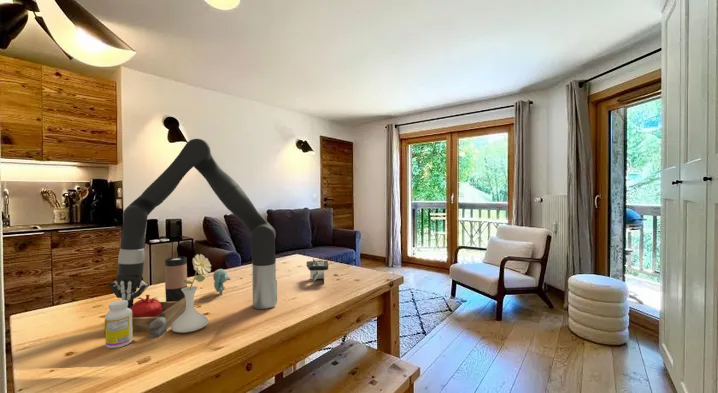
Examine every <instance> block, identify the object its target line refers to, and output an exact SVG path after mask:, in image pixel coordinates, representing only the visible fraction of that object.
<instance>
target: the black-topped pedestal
mask: <svg viewBox="0 0 718 393" xmlns="http://www.w3.org/2000/svg"><path fill="white" fill-rule="evenodd" d="M306 267H307V269H308V270H309V271H310V274H309V275H310V280H312V281H313V282H314V281H316V280H319V279H320V280H321V279H323V280H325V271H328V270H329V261H328V260H325V259H323V258H322V260H316V259H315V256H314V255H313V256H312V260H311V261H310V260H309V261H306Z"/></svg>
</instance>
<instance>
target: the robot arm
mask: <svg viewBox="0 0 718 393" xmlns="http://www.w3.org/2000/svg"><path fill="white" fill-rule="evenodd" d="M193 168H195V169H196V171H197V172H198V173H199V174H200V175H201V176H202V177H203V178H204V179H205V180H206V182H207V183H208V185H209V187H210V188H211V189H212V191H213V192H214V194H215V195H216V197H217V198H218V199H219V200H220V201H221V203H222V204H223V205H224V207H225V208H226V209H227V210H228V211H229V212H230V213H231V214H233V215H234V216H235V217H237V218H238V219H239V220H241V222H242V223H243V224H244V225H245V227H247V229H248V231H249V232H250V233H251V236H250V247H251V248H250V252H251V253H250V254H251V255H250V256H251V262H252V263H251V265H252V266H251V267H252V268H251V269H252V270H251V271H252V272H251V273H252V279H251V280H252V307H253V308H255V309H257V310H258V309H260V310H264V309H270V308H275V307H276V305H277V303H278V280H277V279H276V278H277V277H276V276H277V274H276V273H277V270H276V268H277V266H276V263H277V262H276V260H277V257H276V237H277V232H276V229H275V228H274V226H272V225H271V224H270V222H268V220H266V219H265V218H264V216H262V214H260V213H259V211H258V210H257V208H256V207H255V205H254V203H253V202H252V201H251V199H250V198H249V196H248V195H247V194H246V192H245V190H243V188H242V187H241V186H240V185H239V184H238V183H237V182H236V180H234V179H233V178H232V176H230V175H229V174H228V173H227V172H226V171H224V170H223V169H222V168H221V167H220V165H219V164H218V162H217V161H216V160H215V158H214V156H213V155H212V153H211V147H210V146H209V144H208V143H207V141H205V140H203V139H201V138H193V139H190V140H189V141H187V142H186V143H185V145H184V146H183V148H182V149H181V150H180V151H179V153H178V155H177V156H176V158H175V159H174V160H173V161H172V162H171V163H170V165H169V166H167V168H166V169H165V170H164V171H163V172H162V173H161V174H160V175H159V176H158V177H157V178H156V179H155V180H154V181H153V182H152V183H151V184H150V185H149V186H148V187H147V188H146V189H145V190H144V191H143V192H142V193H141V194H140V195H139V196H138V197H137V198H136V199H135V200H133V201H132V202H131V203H130V204H129V205H128V206H127V207H126V208H125V209H124V210H123V212H122V233H121V237H120V245H119V246H120V247H119V253H118V258H117V260H118V261H117V272H116V274H117V277H116V278H115V280H114V281H113V282H110V283H109V284H108V286H109V288H110V289H111V291H112V292H113V294H114V295H115V297H117V299H121V300H128V306H127V308H131V307H132V306H133V304H134V299H138V298H140V296H141V295H142V294H143V293H145V291H146V290H147V289H148V287H150V283H146V282H145V281H144V278H143V274H144V267H145V266H144V264H145V242H146V229H147V225H148V224H147V223H148V218H149V217H148V216H149V215H150V214H151V213H152V212H153V210H155V209H156V208H157V207H159V206H160V205H161V204H162V203H164V201H165V200H167V198H169V196H171V195H172V193H174V191H175V190H176V188H178V185H179V184H180V183H181V181H182V180H183V178H184V177H186V175H187V174H188V173H189V171H190V170H191V169H193ZM138 287H139V289H138Z"/></svg>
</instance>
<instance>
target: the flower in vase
mask: <svg viewBox="0 0 718 393" xmlns="http://www.w3.org/2000/svg"><path fill="white" fill-rule="evenodd" d="M191 263H192V265H193V270H194V271H195V274H194V277H193V280H192V281H190V280H187V281H186V280H184V283H185V284H187V285H190V286H187V287H185V288H182V289H181V290H182V291H183V293H184V295H185V298H186V310H185V311H184V313H183V314H182V315H180V316H179V317H178V318H177V319H176V320H175V321H174V322H173V323H172V325H171V326H170V329H171V331H172V332H175V333H181V334H182V333H183V334H184V333H192V332H195V331H198V330H200V329H203V328H204V327H205V326H206V325H208V323H209V317H207V316H206V315H205V314H203V313H201V312H199V311H198V310H196V309H195V306H194V300H195V294H196V291H197V290H198V289H199V288H198V286H194V285H193V284H194V282H195V281H197V282H198V283H201V282H203V281H204V280H205V279H206V277H205V276H207V275H208V274H209V273H211V271H212V268H211V267H212V264H211V261H209V258H208V257H205V255H204V254H202V253H200V254H198V253H197V254H196V255H194V257H192V262H191ZM197 274H198V275H197Z"/></svg>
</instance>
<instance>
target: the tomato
mask: <svg viewBox="0 0 718 393" xmlns="http://www.w3.org/2000/svg"><path fill="white" fill-rule="evenodd" d="M150 296H151V295H150V294H145V298H143V297H137V299H140V300H137V301H136V302H133V306H132V307H131V308H130V309H131V310H132V318H134V317H160V316H161V312H162V305H161V304H160V302H161V301H160V300H158V298H157V297H153V298H150Z"/></svg>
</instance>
